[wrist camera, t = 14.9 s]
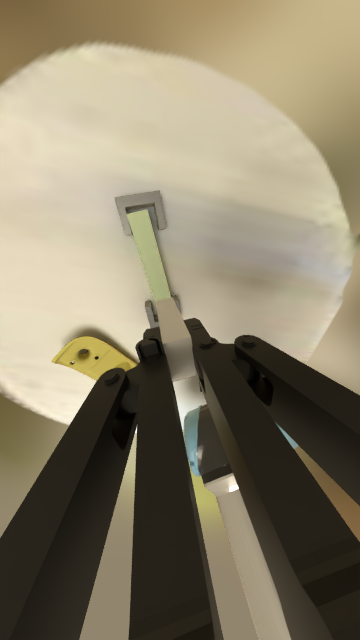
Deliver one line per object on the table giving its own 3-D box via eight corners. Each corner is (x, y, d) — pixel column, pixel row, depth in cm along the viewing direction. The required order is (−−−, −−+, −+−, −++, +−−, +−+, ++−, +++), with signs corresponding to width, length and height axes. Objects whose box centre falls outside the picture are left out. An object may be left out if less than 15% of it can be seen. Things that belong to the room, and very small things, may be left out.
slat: (128, 217, 32) (126, 214, 27) (146, 213, 32) (147, 208, 27) (159, 310, 41) (160, 319, 37) (172, 306, 41) (176, 315, 37)
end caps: (179, 315, 42) (182, 322, 39) (150, 322, 42) (151, 329, 38) (158, 195, 31) (159, 190, 28) (117, 201, 30) (114, 197, 27)
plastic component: (146, 372, 45) (121, 405, 43) (137, 362, 51) (114, 390, 49) (83, 327, 35) (44, 366, 33) (81, 321, 41) (48, 353, 39)
